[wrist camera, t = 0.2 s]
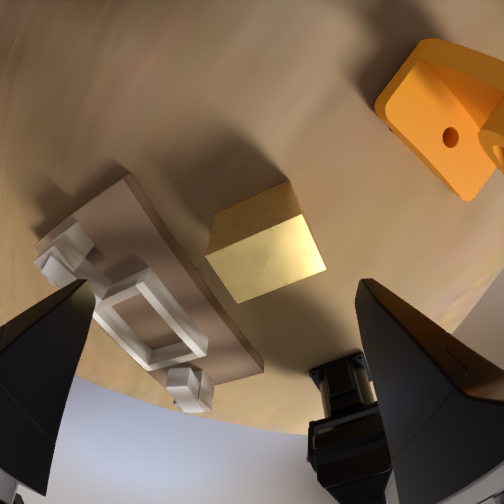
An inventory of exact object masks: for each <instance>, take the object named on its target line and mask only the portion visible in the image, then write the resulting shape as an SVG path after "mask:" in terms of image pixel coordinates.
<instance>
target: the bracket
mask: <svg viewBox="0 0 504 504" xmlns="http://www.w3.org/2000/svg"><path fill="white" fill-rule="evenodd" d="M374 108H375V113H376V115H377V116H378V118H379V119H381V120H382V121H383V122H384V123H385V124H386V125H387V126H388V127H389V128H390V129H392V130H391V132H392V133H394V134H395V135H396V136H397V137H398V138H399V139H400V140H401V141H402V142H403V143H404V144H405V145H406V146H407V147H408V148H409V149H410V150H411V151H412V152H413V153H414V154H415V155H416V156H417V157H418V158H419V159H420V160H421V161H422V162H423V163H424V164H425V165H426V166H427V167H428V168H429V169H430V170H431V171H432V173H433V174H434V175H435V176H437V177H438V178H440V179H441V180H442V182H443V183H444V184H445V185H446V186H447V187H448V188H449V190H450V191H452V192H453V193H454V194H456V195H457V196H459V197H460V198H461V199H463V200H464V201H470V200H472V199H473V198H474V197H475V196H476V195H477V193H478V192H479V191H480V189H481V188H482V187H483V185H484V184H485V182H486V181H487V180H488V178H489V177H490V175H491V174H492V172H493V171H494V170H495V168H496V167H497V168H498V169H499V170H500V171H501V172H502V173H503V174H504V61H501V60H499V59H496V58H494V57H491V56H489V55H486V54H484V53H481V52H478V51H475V50H472V49H470V48H467V47H464V46H461V45H457V44H454V43H451V42H447V41H444V40H440V39H437V38H430V39H423V40H421V41H420V42H419V43H418V45H417V46H416V47H415V49H414V50H413V52H412V53H411V54H410V56H409V57H408V58H407V60H406V61H405V62H404V64H403V65H402V66H401V68H400V69H399V70H398V72H397V73H396V74H395V76H394V77H393V78H392V80H391V81H390V82H389V83H388V85H387V86H386V87H385V89H384V90H383V91H382V93H381V94H380V95H379V97H378V98H377V100H376V102H375V106H374Z"/></svg>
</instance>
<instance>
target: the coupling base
mask: <svg viewBox="0 0 504 504" xmlns="http://www.w3.org/2000/svg"><path fill="white" fill-rule="evenodd" d="M34 247H35V249H36V250H37V252H38V253H39V254H40V255H39V256H38V257H37V258H36V259H35V260H34V262H33V263H34V264H35V265H36V266H37V268H38V269H39V270H40V272H41V273H42V274H43V275H44V277H45V278H46V279H47V280H48V282H49V283H50V284H51V285H53V284H55V285H56V286H58V287H59V288H60V289H61V288H63V287H65V286H66V285H68V284H70V283H71V282H73V281H75V280H76V279H88V280H89V281H90V284H91V287H92V289H93V292H94V295H95V298H96V305H95V309H94V313H93V316H92V318H93V319H94V320H95V321H96V323H97V324H98V325H99V326H100V327H101V328H102V329H103V330H104V331H105V332H106V333H107V334H108V335H109V336H110V337H111V338H112V339H113V340H114V341H115V342H116V343H117V344H118V345H119V346H120V347H121V348H122V349H123V350H124V351H125V352H126V353H127V354H128V355H129V356H130V357H131V358H132V359H133V360H134V361H135V362H136V363H138V364H139V365H140V366H141V367H142V368H143V369H144V370H145V371H146V372H147V373H149V374H150V375H151V376H152V377H153V378H154V379H155V380H156V381H158V382H159V383H160V384H161V385H162V386H163V387H165V388H166V389H167V390H168V391H169V393H170V394H171V395H172V397H173V398H174V402H173V405H175V406H176V407H177V408H179V409H180V410H181V411H182V412H184V413H185V414H187V415H188V414H194V413H200V412H205V411H211V410H212V404H213V393H214V385H218V384H222V383H226V382H230V381H234V380H238V379H242V378H245V377H249V376H253V375H256V374H260V373H263V372H264V361H263V360H262V359H261V357H260V356H259V355H258V353H257V352H256V351H255V350H254V348H253V347H252V346H251V344H250V343H249V342H248V341H247V339H246V338H245V337H244V335H243V334H242V333H241V331H240V330H239V329H238V327H237V326H236V325H235V323H234V322H233V321H232V319H231V318H230V317H229V315H228V314H227V313H226V311H225V310H224V309H223V307H222V306H221V305H220V303H219V302H218V300H217V299H216V298H215V296H214V295H213V294H212V292H211V291H210V289H209V288H208V287H207V285H206V284H205V283H204V281H203V280H202V278H201V277H200V275H199V274H198V273H197V271H196V270H195V268H194V267H193V266H192V264H191V263H190V261H189V260H188V258H187V257H186V256H185V254H184V253H183V251H182V250H181V248H180V247H179V245H178V244H177V243H176V241H175V240H174V238H173V237H172V235H171V234H170V232H169V231H168V229H167V228H166V226H165V225H164V223H163V222H162V220H161V219H160V217H159V216H158V214H157V213H156V211H155V210H154V208H153V207H152V205H151V204H150V202H149V201H148V199H147V197H146V196H145V194H144V193H143V191H142V190H141V188H140V187H139V185H138V183H137V182H136V180H135V179H134V177H133V176H132V174H131V172H130V173H129V174H127V175H126V176H124V177H123V178H121V179H120V180H118V181H117V182H115V183H114V184H112V185H111V186H109V187H108V188H107V189H105V190H104V191H102V192H101V193H99V194H98V195H97V196H95V197H94V198H92V199H91V200H90V201H88V202H87V203H86V204H84V205H83V206H81V207H80V208H79V209H77V210H76V211H75V212H74V213H72V214H71V215H70V216H68V217H67V218H66V219H64V220H63V221H62V222H61V223H59V224H58V225H57V226H56V227H54V228H53V229H52V230H51V231H49V232H48V233H47V234H46V235H45V236H43V237H42V238H41V239H40V240H39V241H38V242H37V243H36V244H35V245H34Z"/></svg>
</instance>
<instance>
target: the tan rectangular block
mask: <svg viewBox="0 0 504 504" xmlns="http://www.w3.org/2000/svg"><path fill="white" fill-rule="evenodd" d="M205 257H206V259H207V260H208V262H209V263H210V265H211V266H212V268H213V269H214V270H215V272H216V273H217V275H218V276H219V278H220V279H221V281H222V282H223V284H224V285H225V287H226V288H227V290H228V291H229V292H230V294H231V295H232V297H233V298H234V300H235V301H236V303H237V304H239V303H241V302H244V301H247V300H249V299H252V298H255V297H257V296H260V295H262V294H265V293H268V292H270V291H273V290H275V289H278V288H280V287H283V286H286V285H288V284H291V283H293V282H296V281H298V280H301V279H303V278H306V277H308V276H311V275H313V274H316V273H318V272H321V271H323V270H325V269H326V268H325V265H324V262H323V259H322V257H321V254H320V251H319V248H318V246H317V243H316V240H315V237H314V235H313V232H312V229H311V227H310V224H309V222H308V220H307V217H306V215H305V213H304V211H303V208H302V206H301V204H300V202H299V200H298V197H297V195H296V193H295V191H294V189H293V187H292V185H291V182H290V180H289V181H286V182H284V183H282V184H280V185H277V186H275V187H273V188H271V189H269V190H266V191H264V192H262V193H260V194H257V195H255V196H253V197H251V198H249V199H247V200H244V201H242V202H240V203H238V204H236V205H234V206H232V207H229V208H227V209H225V210H223V211H221V212H219V213H217V214H215V218H214V222H213V226H212V230H211V234H210V238H209V242H208V246H207V251H206V255H205Z"/></svg>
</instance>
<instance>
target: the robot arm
mask: <svg viewBox="0 0 504 504" xmlns="http://www.w3.org/2000/svg"><path fill="white" fill-rule="evenodd" d="M95 305H96V298H95V295H94V292H93V289H92V287H91V284H90V281H89V280H88V279H76V280H75V281H73V282H71V283H70V284H68V285H66V286H65V287H63V288H61V289H60V290H58V291H56V292H55V293H53V294H51V295H50V296H48V297H46V298H45V299H43V300H42V301H40V302H38V303H37V304H35V305H34V306H32V307H30V308H29V309H27V310H26V311H24V312H23V313H21V314H19V315H18V316H16V317H15V318H13V319H12V320H10V321H9V322H7V323H6V324H4V325H2V326H1V327H0V504H24V502H23V500H22V497H21V495H19V494H17V493H16V491H17V488H18V485H19V484H20V485H22V486H24V487H26V488H28V489H30V490H32V491H34V492H36V493H38V494H40V495H42V496H46V492H47V485H48V479H49V474H50V468H51V463H52V459H53V454H54V449H55V443H56V440H57V436H58V431H59V427H60V423H61V419H62V416H63V412H64V408H65V405H66V401H67V398H68V394H69V391H70V388H71V384H72V381H73V378H74V375H75V372H76V369H77V366H78V363H79V360H80V357H81V354H82V351H83V348H84V345H85V342H86V339H87V335H88V332H89V328H90V324H91V320H92V316H93V313H94V309H95ZM355 309H356V314H357V319H358V325H359V330H360V336H361V341H362V346H363V350H364V353H365V356H364V353H363V352H359V353H356V354H353V355H351V356H348V357H345V358H343V359H340V360H337V361H334V362H331V363H329V364H326V365H323V366H320V367H317V368H314V369H311V370H310V371H309V374H310V377H311V378H312V380H313V381H314V383H315V384H316V386H317V387H318V389H319V390H320V392H321V397H322V403H323V409H324V415H325V418H324V419H320V420H317V421H310V422H309V428H308V453H307V461H308V462H309V463H311V465H312V467H313V469H314V471H315V472H316V473H317V480H318V482H319V483H320V484H321V485H322V487H323V488H325V489H326V490H327V491H328V492H329V493H330V494H331V495H332V496H333V497H334V498H335V499H336V500H337V501H338V502H339V504H389V502H388V496H387V495H388V492H389V490H390V488H391V485H392V483H393V480H394V478H395V481H396V487H397V492H398V498H399V504H504V370H503V369H501V368H499V367H498V366H496V365H495V364H493V363H492V362H490V361H489V360H487V359H486V358H484V357H483V356H481V355H479V354H478V353H476V352H475V351H473V350H472V349H470V348H469V347H467V346H466V345H464V344H463V343H462V342H460V341H459V340H458V339H456V338H455V337H453V336H452V335H451V334H450V333H448V332H446V331H445V330H444V329H443V328H441V327H440V326H439V325H437V324H436V323H435V322H433V321H432V320H430V319H429V318H428V317H426V316H425V315H424V314H422V313H421V312H419V311H418V310H417V309H415V308H414V307H413V306H411V305H410V304H408V303H407V302H405V301H404V300H403V299H401V298H400V297H398V296H397V295H396V294H394V293H393V292H391V291H390V290H388V289H387V288H386V287H384V286H383V285H381V284H380V283H378V282H377V281H375V280H374V279H372V278H367V279H361V280H360V281H359V284H358V288H357V293H356V297H355ZM365 357H366V359H365ZM366 360H367V362H366ZM367 364H368V365H367ZM368 367H369V368H368ZM371 381H372V382H373V385H374V389H375V393H376V397H377V400H378V401H374V397H373V394H372V390H371V387H370V383H369V382H371Z"/></svg>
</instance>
